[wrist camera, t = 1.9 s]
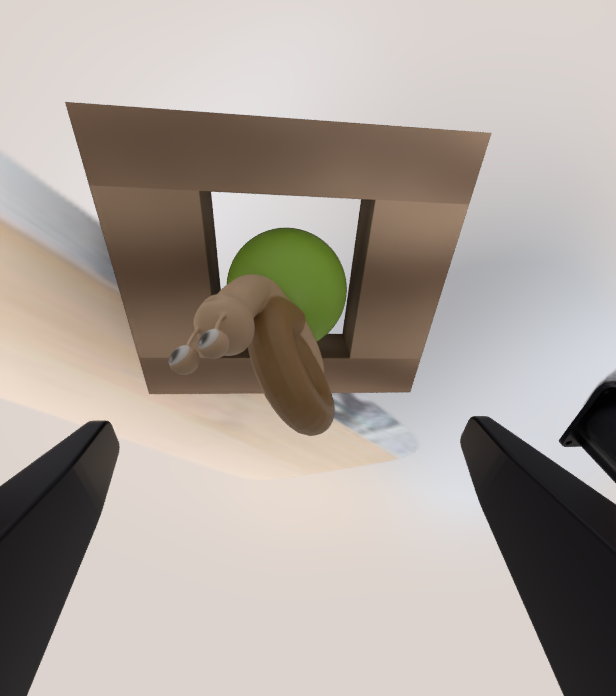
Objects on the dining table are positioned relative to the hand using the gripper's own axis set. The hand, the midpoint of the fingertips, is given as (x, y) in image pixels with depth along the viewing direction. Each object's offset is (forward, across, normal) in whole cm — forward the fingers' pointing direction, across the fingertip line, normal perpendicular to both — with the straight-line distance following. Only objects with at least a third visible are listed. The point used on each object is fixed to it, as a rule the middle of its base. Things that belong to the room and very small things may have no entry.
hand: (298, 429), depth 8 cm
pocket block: (+11, 0, 0) cm, 11 cm away
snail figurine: (+11, 0, 0) cm, 11 cm away
